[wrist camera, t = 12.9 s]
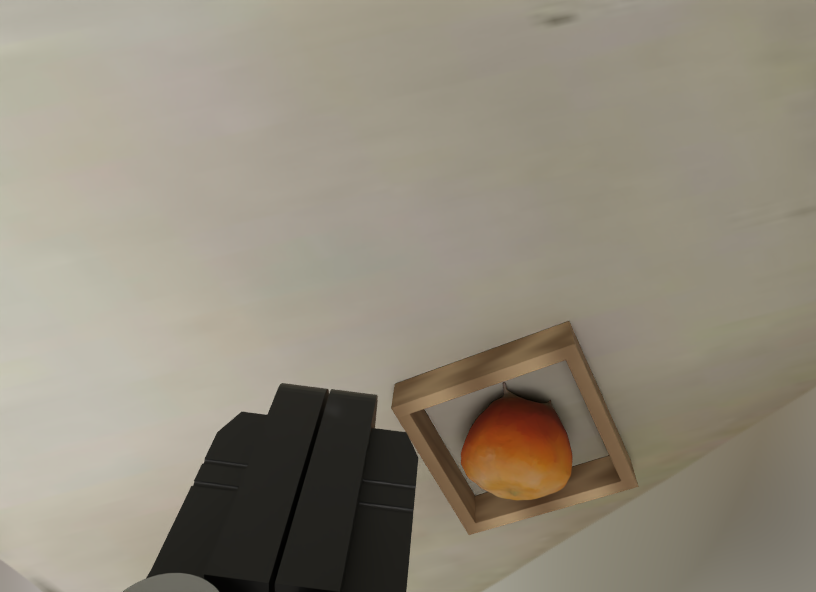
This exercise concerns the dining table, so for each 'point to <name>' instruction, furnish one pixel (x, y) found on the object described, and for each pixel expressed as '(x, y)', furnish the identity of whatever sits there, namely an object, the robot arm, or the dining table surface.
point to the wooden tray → (492, 370)
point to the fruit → (518, 449)
